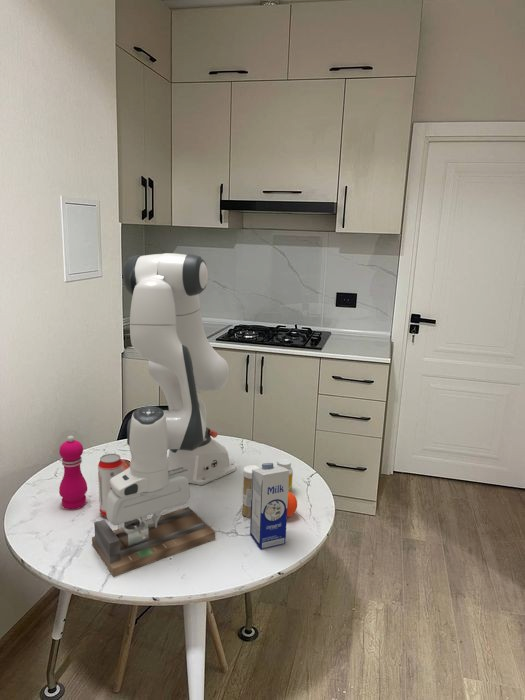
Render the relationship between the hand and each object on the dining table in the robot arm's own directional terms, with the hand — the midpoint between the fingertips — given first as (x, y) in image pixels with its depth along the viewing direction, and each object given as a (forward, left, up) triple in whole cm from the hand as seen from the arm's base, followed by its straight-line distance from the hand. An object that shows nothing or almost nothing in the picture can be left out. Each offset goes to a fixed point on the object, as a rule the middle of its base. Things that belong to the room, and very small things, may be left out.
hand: (150, 528), depth 127 cm
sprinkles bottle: (-28, +2, -4) cm, 29 cm away
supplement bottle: (-43, -3, -4) cm, 44 cm away
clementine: (-35, +8, -4) cm, 36 cm away
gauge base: (-1, 0, -4) cm, 4 cm away
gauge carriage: (+4, +1, -2) cm, 5 cm away
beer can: (+3, -18, -4) cm, 19 cm away
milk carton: (-25, +14, -4) cm, 29 cm away
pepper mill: (+10, -28, -4) cm, 30 cm away
